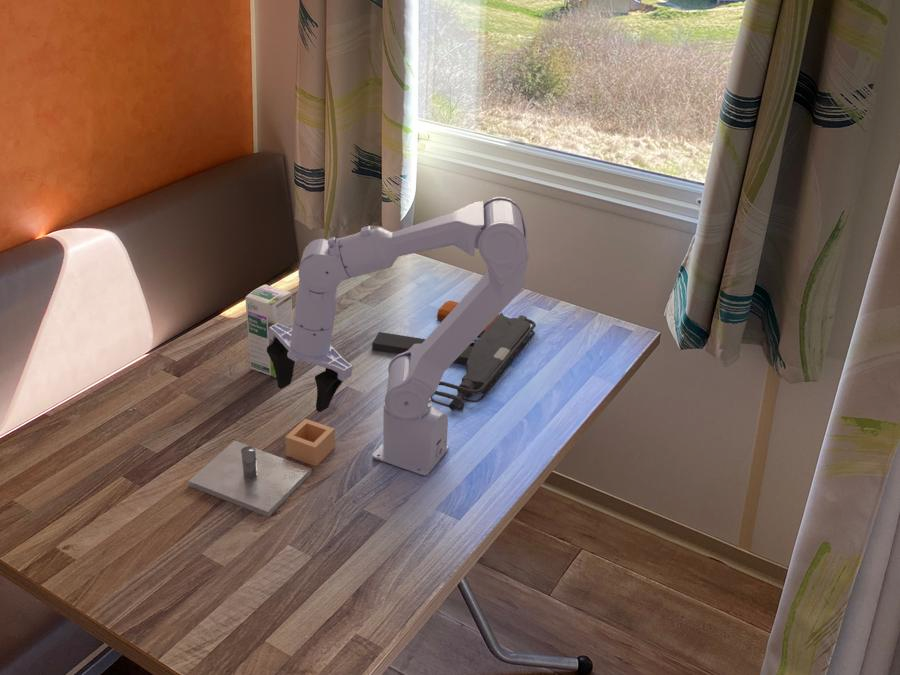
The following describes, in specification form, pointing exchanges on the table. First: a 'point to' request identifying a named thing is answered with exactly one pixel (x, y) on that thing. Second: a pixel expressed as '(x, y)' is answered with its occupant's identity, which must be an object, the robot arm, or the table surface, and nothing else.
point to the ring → (310, 442)
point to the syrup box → (266, 323)
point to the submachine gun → (472, 353)
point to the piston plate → (250, 478)
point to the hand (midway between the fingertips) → (303, 397)
